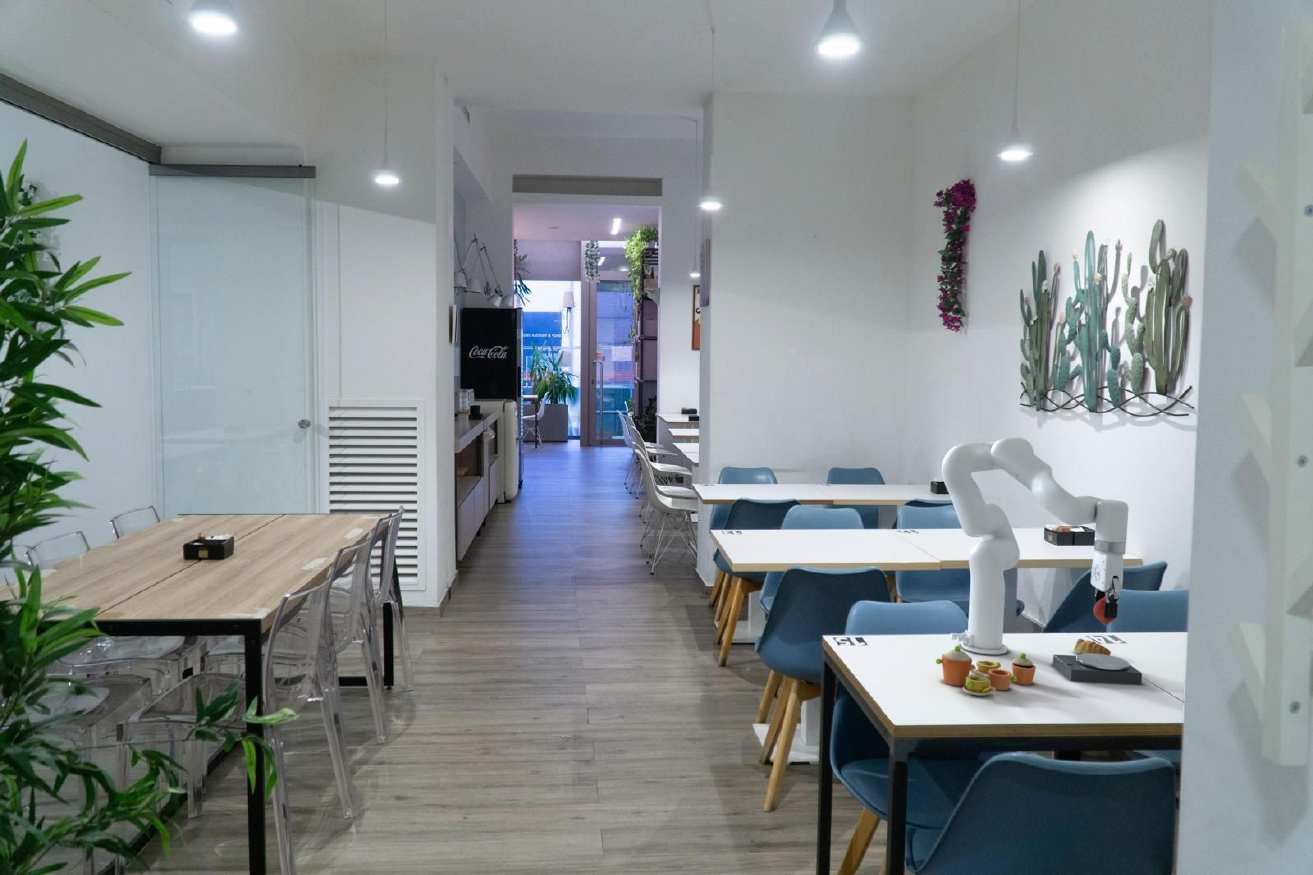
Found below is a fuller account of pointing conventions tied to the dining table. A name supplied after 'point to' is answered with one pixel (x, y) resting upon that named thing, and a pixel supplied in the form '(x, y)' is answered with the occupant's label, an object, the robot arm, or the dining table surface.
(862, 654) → the dining table surface
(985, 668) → the toy tea set
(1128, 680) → the scale
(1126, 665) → the scale pan
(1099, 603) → the onion
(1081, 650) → the pastry
